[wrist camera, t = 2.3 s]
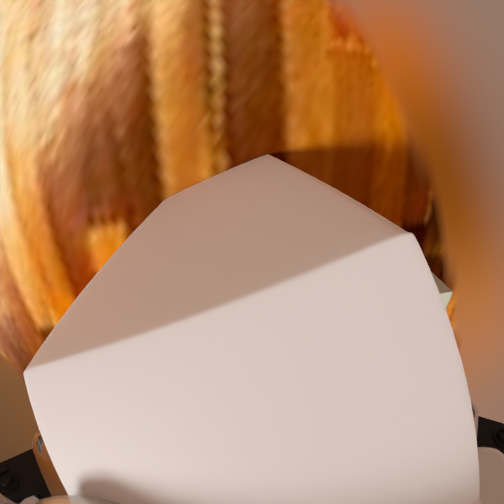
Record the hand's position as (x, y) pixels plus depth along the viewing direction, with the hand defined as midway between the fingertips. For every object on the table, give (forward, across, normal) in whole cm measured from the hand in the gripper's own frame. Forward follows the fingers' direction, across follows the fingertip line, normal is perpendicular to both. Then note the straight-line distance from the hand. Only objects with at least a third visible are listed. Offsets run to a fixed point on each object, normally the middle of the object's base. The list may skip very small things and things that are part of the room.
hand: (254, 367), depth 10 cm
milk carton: (+11, 0, -2) cm, 11 cm away
